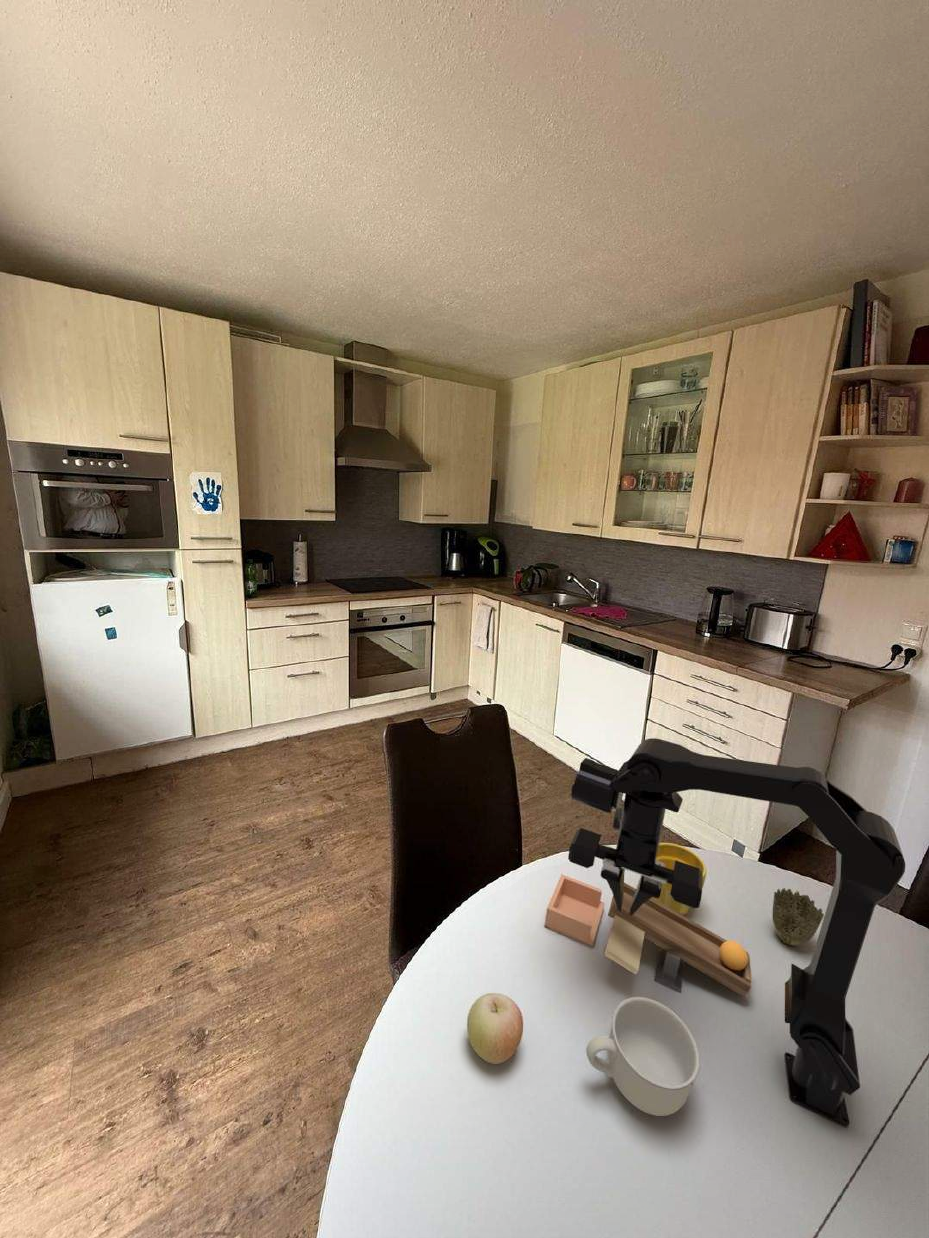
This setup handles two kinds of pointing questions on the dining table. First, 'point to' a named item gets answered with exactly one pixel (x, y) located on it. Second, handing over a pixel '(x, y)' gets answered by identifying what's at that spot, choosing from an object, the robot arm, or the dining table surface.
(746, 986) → the lever
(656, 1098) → the teacup
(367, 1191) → the dining table surface
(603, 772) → the robot arm
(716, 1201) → the dining table surface
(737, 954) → the ball
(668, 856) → the plant pot
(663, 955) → the seesaw stand
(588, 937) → the peach open tray
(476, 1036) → the fruit
